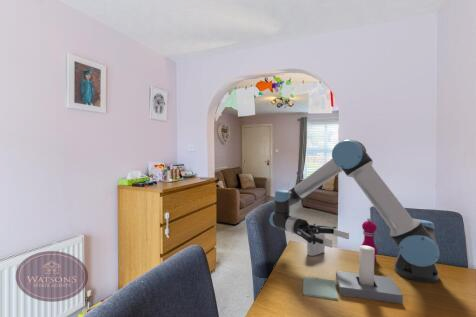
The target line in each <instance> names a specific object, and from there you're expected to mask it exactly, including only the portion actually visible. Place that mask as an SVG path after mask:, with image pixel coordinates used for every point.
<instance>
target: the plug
mask: <svg viewBox="0 0 476 317" xmlns="http://www.w3.org/2000/svg"><path fill="white" fill-rule="evenodd" d="M361 245H362V244H361ZM361 245H359V249H358V255H359V258H358V259H359V260H358V261H359V262H358V263H359V265H358V273H359V285H361V286H369V287H374V275H375V262H374V254H375V249H374V248H373V247H370V246H365V245H362V246H361Z"/></svg>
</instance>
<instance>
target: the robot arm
mask: <svg viewBox="0 0 476 317" xmlns="http://www.w3.org/2000/svg"><path fill="white" fill-rule="evenodd" d="M373 162H374V161H373V159H372V158H371V156H370V155H369V154H368V153H367V149H366V147H365V144H363V143H361V142H360V141H357V140H353V139H344V140H341V141H339V142H337V143H336V144H335V145H334V146H333V149H332V151H331V159H330V160H328V161H327V162H326V163H324V164H323V165H322V166H320V167H319V168H317V169H316V170H315V171H313V172H312V173H311V174H309V175H308V176H307V177H305V178H304V179H303V180H301V181H299V183H297V184H296V185H294V186H293V187H292V188H291V189H289V190H288V189H277V190H275V191H274V211H273V212H271V214H270V215H269V216H270V217H269V218H268V219H269V223H270V225H271V226H272V227H275V228H276V229H281V230H283V231H286V232H289V233H291V234H295V235H297V236H298V237H301V238H302V239H303V240H305V241H306V243H307V242H309V243H312V242H313V244H316V243H319V244H322V245H325V247H327V248H333V240H332V239H329V238H326V237H325V238H323V237H320V236H315V235H314V234H319V233H325V234H326V235H327V234H329V235H333V236H335V237H339V238H343V239H346V240H349V239H350V232H349V231H345V230H341V229H337V226H334V225H333V226H332V225H325V224H318V223H313V224H309V222H308V220H306V219H302V218H299V217H296V216H293V215H292V216H291V215H290V211H291V210H290V209H291V207H292V206H293V205H295V204H297V203H299V202H300V201H302V200H303V199H304V198H306V197H307V196H308V195H309V194H311V193H312V192H314V191H316V190H317V189H319V187H322V186H323V185H324V184H326V183H327V182H329V181H330V180H331V179H333V178H334V177H336V176H337V175H339V174H340V173H342V172H343V173H345V175H346V177H350V178H352V179H353V180H354V182H356V183H357V185H358V186H359V188H360V189H361V191H363V193H364V195H365V196H366V198H367V200H369V201H370V203H371V205H372V206H373V207H374V208H375V210H376V211H377V212H378V214H379V215H380V216H381V218H382V220H383V221H384V222H385V223H386V225H387V226H388V227H389V229H390V231H389V236H390V237H391V239H392V240H393V241H394V243H395V244H396V245H397V247H398V250H399V253H398V255H397V257H396V259H395V262H394V267H393V268H394V271H395V272H396V273H397V274H399V275H400V276H402V277H404V278H406V279H409V280H412V281H415V282H419V283H429V284H430V283H436V282H438V281H439V277H440V276H439V274H440V273H439V271H438V269H437V266H436V262H438V260H439V258H440V255H441V254H440V252H441V251H440V247H439V245H438V243H437V239H436V238H435V231H436V227H435V223H434V222H432V221H429V220H424V219H418V218H412V216H411V215H410V213H408V211H407V210H406V208H405V207H404V206H403V205H402V203H401V202H400V201H399V199H398V198H397V197H396V196H395V194H394V193H393V192H392V190H391V189H390V188H389V186H388V185H387V184H386V183H385V181H384V180H383V179H382V178H381V175H379V173H378V172H377V170H375V168H374V167H373Z"/></svg>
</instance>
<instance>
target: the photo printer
mask: <svg viewBox="0 0 476 317" xmlns="http://www.w3.org/2000/svg"><path fill="white" fill-rule="evenodd" d="M314 235H315V236H320V237H323V238H326V233H319V234H314ZM325 247H326V246H325V245H322V244H319V243H316V244H313V242H312V243H309V242H307V241H306V254H307V255H308V256H310V257H314V256H317V255H320V254H323V253H325V249H326V248H325Z"/></svg>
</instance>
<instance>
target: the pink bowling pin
mask: <svg viewBox="0 0 476 317" xmlns="http://www.w3.org/2000/svg"><path fill="white" fill-rule="evenodd" d="M361 227H362V230H363V231H362V233H363V235H364V236H363V237H364V238H363V241H362V243H361V245H360V246H362V245H365V246H370V247H373V248H374V249H375V254H374V263H376V261H377V255H378V248H377V246H376V244H375V238H374V237H375V236H376V231H377V225H376V223H375V222H373V221H372V218H370V217H368V218H367V220H366V221H364V222H362V225H361Z"/></svg>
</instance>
